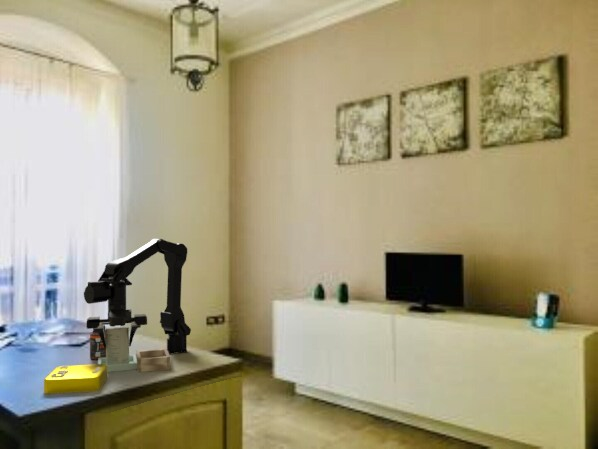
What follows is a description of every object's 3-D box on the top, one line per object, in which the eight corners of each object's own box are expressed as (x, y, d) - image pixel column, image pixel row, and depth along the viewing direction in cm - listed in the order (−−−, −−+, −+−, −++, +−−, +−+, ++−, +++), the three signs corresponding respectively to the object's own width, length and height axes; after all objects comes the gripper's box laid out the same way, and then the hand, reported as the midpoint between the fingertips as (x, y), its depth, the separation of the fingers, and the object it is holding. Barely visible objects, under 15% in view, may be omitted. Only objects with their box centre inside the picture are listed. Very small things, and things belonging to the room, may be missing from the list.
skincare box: (129, 364, 176) (130, 327, 176) (121, 367, 172) (121, 329, 172) (113, 362, 178) (114, 325, 178) (105, 365, 174) (105, 328, 174)
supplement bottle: (101, 360, 183) (101, 327, 183) (86, 359, 184) (86, 327, 184) (111, 356, 188) (111, 324, 188) (96, 355, 190) (96, 323, 190)
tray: (135, 360, 183) (135, 354, 183) (137, 369, 171) (137, 363, 171) (98, 363, 179) (98, 357, 179) (97, 372, 167) (97, 366, 167)
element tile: (99, 392, 149) (99, 375, 149) (41, 396, 146) (41, 378, 146) (108, 377, 163) (108, 361, 163) (56, 380, 161) (56, 364, 161)
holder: (166, 360, 182) (166, 348, 182) (170, 369, 171) (170, 356, 171) (136, 363, 179) (136, 351, 179) (137, 372, 167) (137, 359, 167)
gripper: (85, 305, 164) (85, 355, 164) (147, 301, 170) (148, 350, 170) (87, 300, 175) (87, 347, 175) (145, 297, 181) (146, 343, 181)
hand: (117, 347), depth 175 cm, fingers open, 7 cm apart
